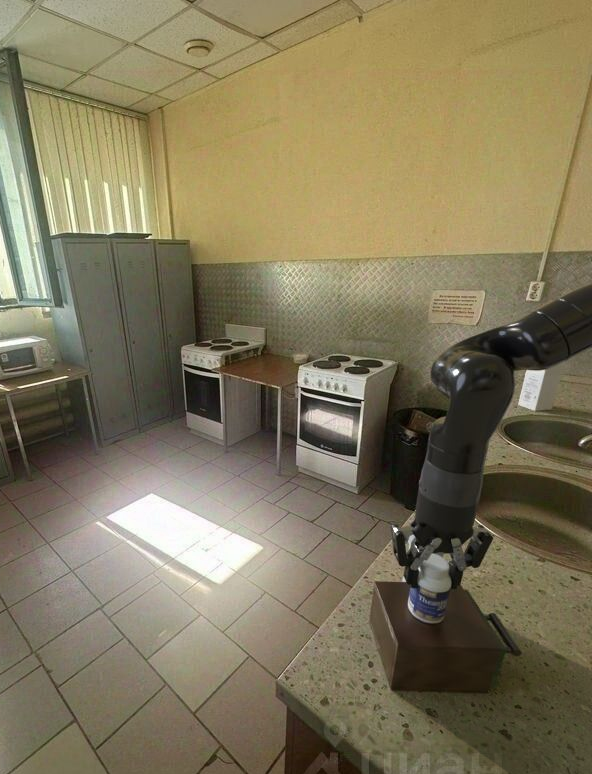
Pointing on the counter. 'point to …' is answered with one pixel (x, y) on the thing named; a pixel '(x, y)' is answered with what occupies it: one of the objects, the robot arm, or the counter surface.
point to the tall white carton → (540, 388)
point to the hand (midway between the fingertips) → (431, 584)
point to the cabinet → (432, 643)
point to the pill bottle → (431, 590)
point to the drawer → (503, 634)
